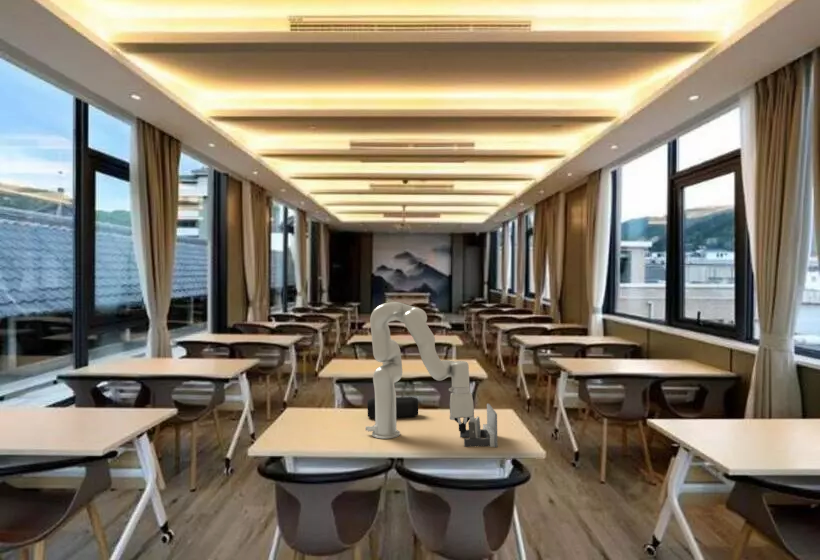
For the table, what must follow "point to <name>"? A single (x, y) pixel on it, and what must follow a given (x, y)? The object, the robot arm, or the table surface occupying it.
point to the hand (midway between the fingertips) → (462, 432)
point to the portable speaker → (398, 407)
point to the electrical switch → (474, 428)
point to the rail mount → (484, 432)
